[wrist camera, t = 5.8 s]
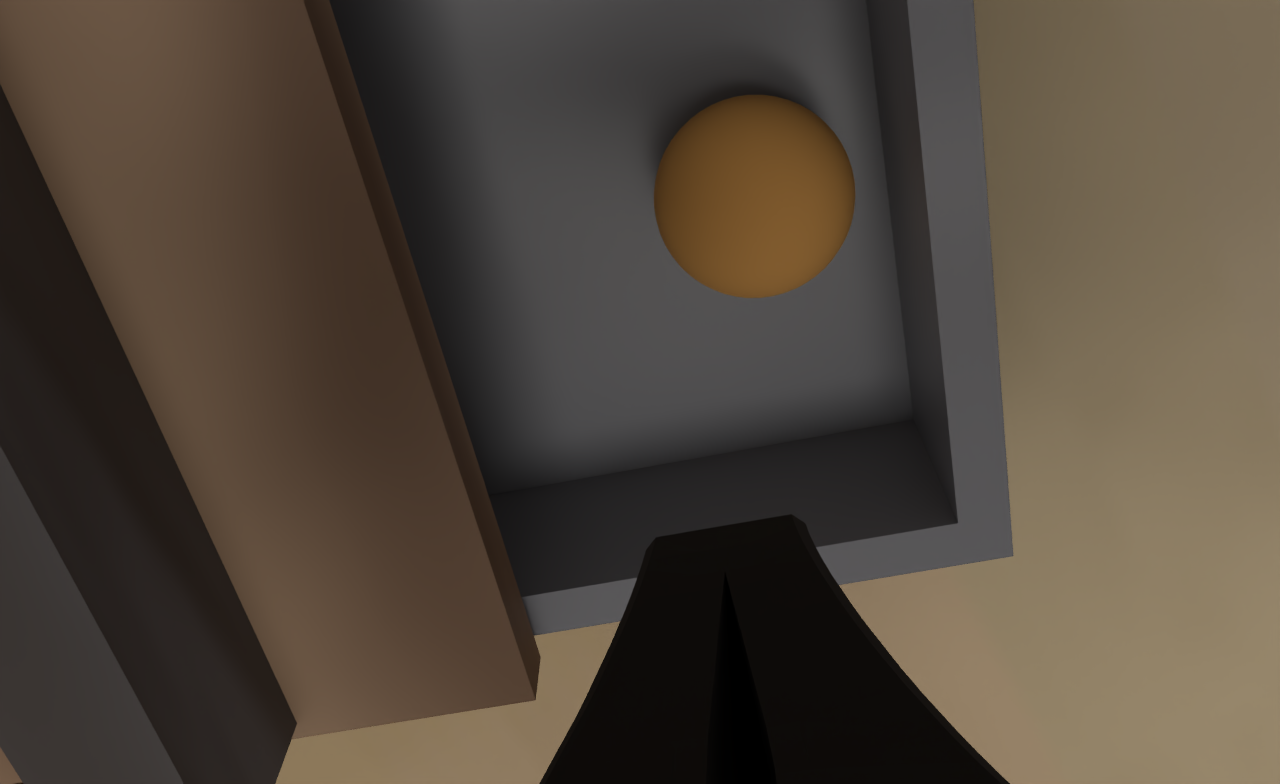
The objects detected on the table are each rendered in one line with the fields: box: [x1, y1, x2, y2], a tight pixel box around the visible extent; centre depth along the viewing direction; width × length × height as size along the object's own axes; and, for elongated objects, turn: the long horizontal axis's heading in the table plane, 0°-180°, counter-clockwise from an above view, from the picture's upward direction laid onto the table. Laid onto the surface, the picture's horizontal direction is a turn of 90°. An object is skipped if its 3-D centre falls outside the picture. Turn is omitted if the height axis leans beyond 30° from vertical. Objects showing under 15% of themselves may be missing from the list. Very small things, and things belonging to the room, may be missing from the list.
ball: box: [654, 95, 855, 298], centre depth 17 cm, size 3×3×3 cm
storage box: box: [329, 0, 1013, 635], centre depth 18 cm, size 12×12×4 cm
